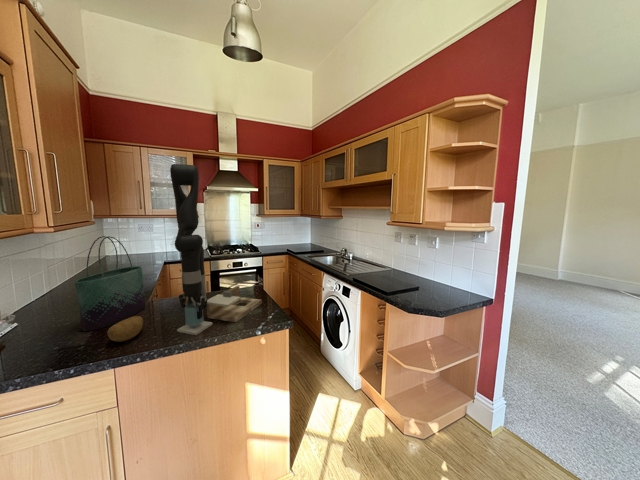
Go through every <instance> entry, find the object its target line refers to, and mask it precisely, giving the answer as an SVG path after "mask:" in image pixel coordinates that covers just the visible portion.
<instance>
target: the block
mask: <svg viewBox="0 0 640 480" xmlns="http://www.w3.org/2000/svg"><path fill="white" fill-rule="evenodd" d="M199 308H200V306H199ZM202 314H203V316H202V318H201V319H197V308H196V307H194V304H190V305H189V306H186V307H185V308H184V316H185V325H190V326H197V325H198V324H200V323H202V322H203V321H205V319H204V310H202Z"/></svg>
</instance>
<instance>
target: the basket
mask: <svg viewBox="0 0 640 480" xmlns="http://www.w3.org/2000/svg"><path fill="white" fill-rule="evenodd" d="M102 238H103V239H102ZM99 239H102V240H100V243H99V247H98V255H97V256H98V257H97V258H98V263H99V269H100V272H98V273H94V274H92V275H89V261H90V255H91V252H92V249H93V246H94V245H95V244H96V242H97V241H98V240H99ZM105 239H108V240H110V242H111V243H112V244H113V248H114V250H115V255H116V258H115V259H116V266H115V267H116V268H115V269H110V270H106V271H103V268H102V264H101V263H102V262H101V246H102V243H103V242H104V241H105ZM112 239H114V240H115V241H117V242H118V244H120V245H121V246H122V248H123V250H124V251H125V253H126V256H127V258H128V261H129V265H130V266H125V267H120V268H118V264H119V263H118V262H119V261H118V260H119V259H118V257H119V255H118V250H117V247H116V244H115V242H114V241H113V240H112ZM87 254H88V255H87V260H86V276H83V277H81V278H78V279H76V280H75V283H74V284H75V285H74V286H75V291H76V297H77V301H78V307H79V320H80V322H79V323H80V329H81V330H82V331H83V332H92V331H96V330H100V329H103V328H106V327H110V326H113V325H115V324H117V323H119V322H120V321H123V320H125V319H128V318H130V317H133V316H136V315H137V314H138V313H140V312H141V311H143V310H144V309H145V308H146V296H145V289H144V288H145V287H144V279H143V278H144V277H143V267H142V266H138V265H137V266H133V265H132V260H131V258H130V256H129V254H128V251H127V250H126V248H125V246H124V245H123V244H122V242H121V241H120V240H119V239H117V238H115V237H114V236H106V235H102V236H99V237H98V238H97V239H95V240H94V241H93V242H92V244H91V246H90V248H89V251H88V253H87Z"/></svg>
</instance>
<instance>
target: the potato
mask: <svg viewBox="0 0 640 480" xmlns="http://www.w3.org/2000/svg"><path fill="white" fill-rule="evenodd" d="M143 326H144V318H143V317H141V316H140V315H133V316H131V317H129V318H127V319H125V320H122V321H120V322H118V323H115V324H113V325H111V327H109V328H108V330H107V336H108V339H109V340H110V341H113V342H118V343H119V342H126V341H129V340H132V339H133V338H135V337H136V336H137V335H138V334H139V333H140V332H141V330H142V328H143Z"/></svg>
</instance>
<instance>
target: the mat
mask: <svg viewBox="0 0 640 480" xmlns="http://www.w3.org/2000/svg"><path fill="white" fill-rule="evenodd" d="M212 325H213V321H207V320H206V321H205V320H204V321H203V322H202V323H200V324H198V325H197V326H190V325H186V324H185V325H183V326H180V327H179V328H177V329H176V332H177V333H184V334H187V335H188V334H189V335H194V336H197V335H198V334H200V333H202V332H204V331H205V330H206V329H207V328H210V327H211V326H212Z"/></svg>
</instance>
